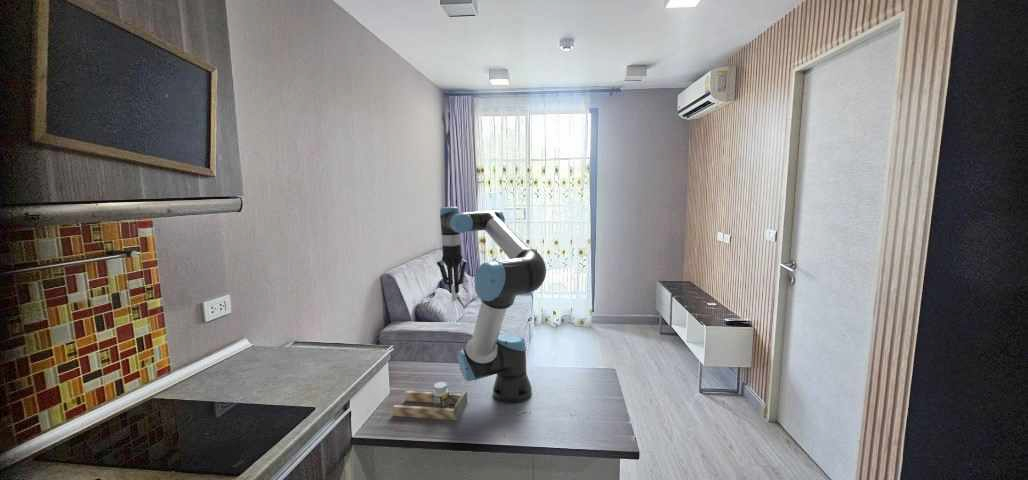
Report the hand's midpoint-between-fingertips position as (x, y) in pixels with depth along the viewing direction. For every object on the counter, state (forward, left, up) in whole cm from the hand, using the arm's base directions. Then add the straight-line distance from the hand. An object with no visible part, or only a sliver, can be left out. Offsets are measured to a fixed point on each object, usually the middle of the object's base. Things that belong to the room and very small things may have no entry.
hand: (454, 300), depth 166 cm
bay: (+3, +25, -34) cm, 42 cm away
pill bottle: (-1, +25, -35) cm, 43 cm away
